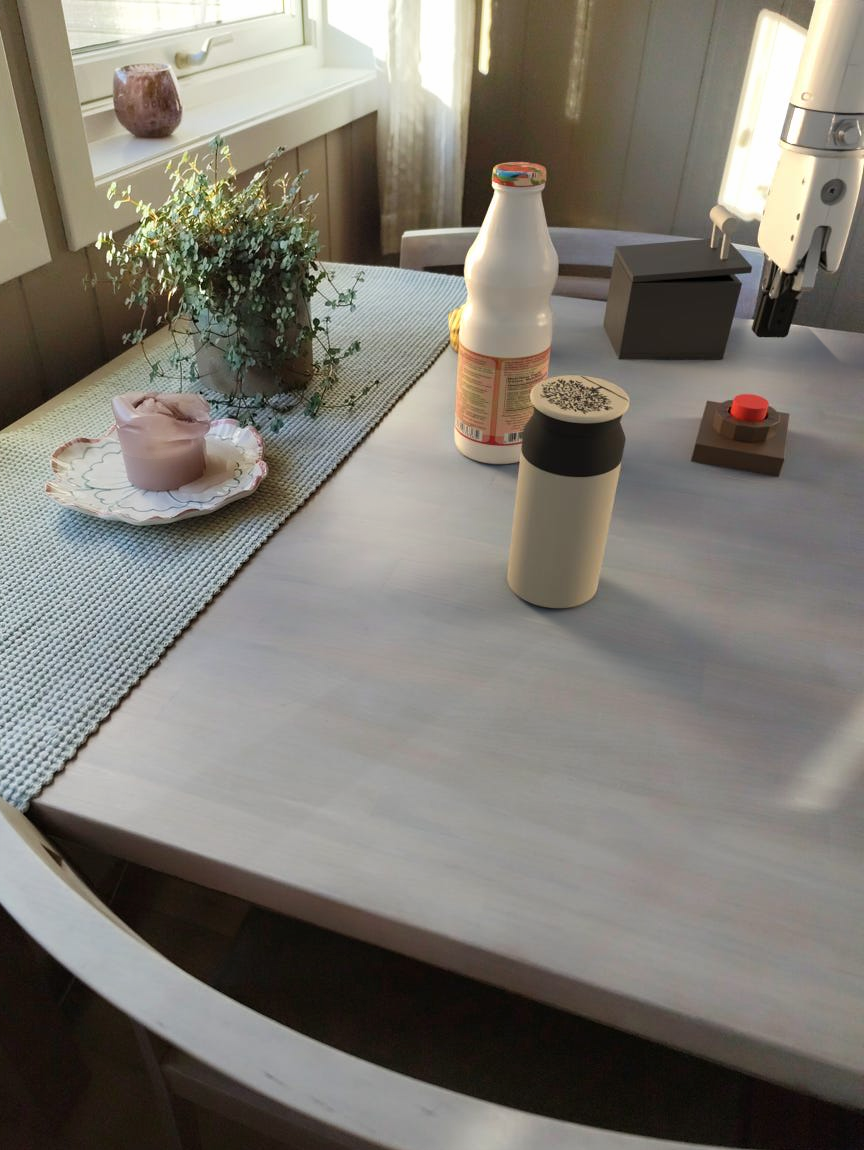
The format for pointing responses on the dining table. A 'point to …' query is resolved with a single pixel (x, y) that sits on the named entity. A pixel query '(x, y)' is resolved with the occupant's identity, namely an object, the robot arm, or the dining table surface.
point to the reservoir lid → (687, 255)
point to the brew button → (749, 408)
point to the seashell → (455, 327)
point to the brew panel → (741, 440)
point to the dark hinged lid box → (670, 316)
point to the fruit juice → (505, 317)
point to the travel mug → (566, 489)
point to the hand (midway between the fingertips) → (768, 333)
